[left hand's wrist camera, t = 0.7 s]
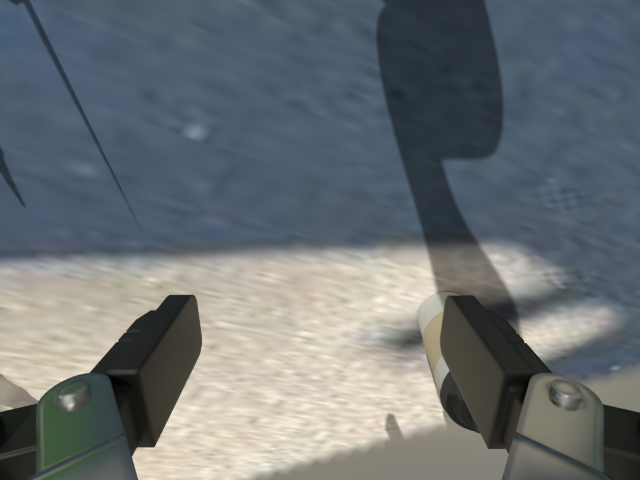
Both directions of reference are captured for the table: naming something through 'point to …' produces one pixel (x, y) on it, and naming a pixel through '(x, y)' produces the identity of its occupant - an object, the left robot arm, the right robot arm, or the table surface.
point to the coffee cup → (442, 360)
